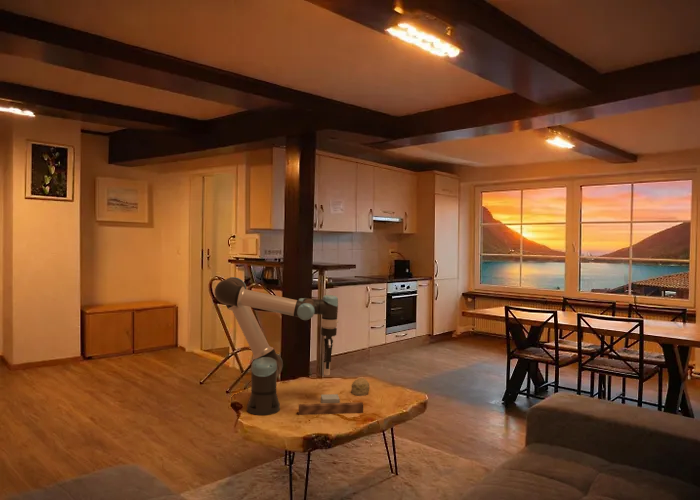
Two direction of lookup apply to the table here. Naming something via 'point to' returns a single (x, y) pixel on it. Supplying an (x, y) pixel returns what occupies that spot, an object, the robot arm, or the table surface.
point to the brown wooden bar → (330, 408)
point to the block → (330, 398)
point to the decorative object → (360, 387)
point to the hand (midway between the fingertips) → (326, 374)
